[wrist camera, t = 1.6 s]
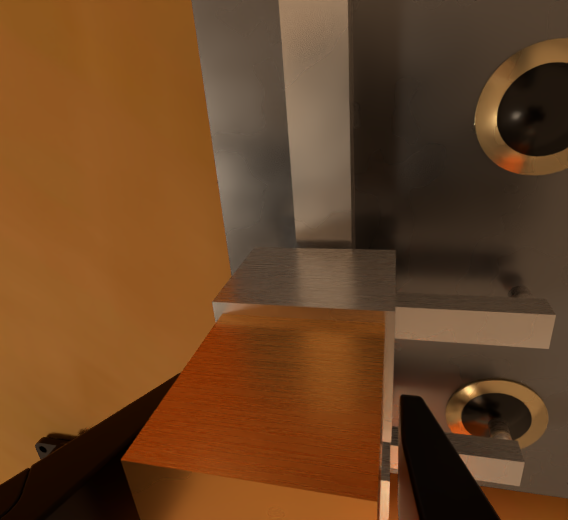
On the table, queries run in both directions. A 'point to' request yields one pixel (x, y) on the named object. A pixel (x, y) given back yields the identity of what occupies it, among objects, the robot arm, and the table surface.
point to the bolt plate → (413, 185)
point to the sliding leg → (302, 387)
